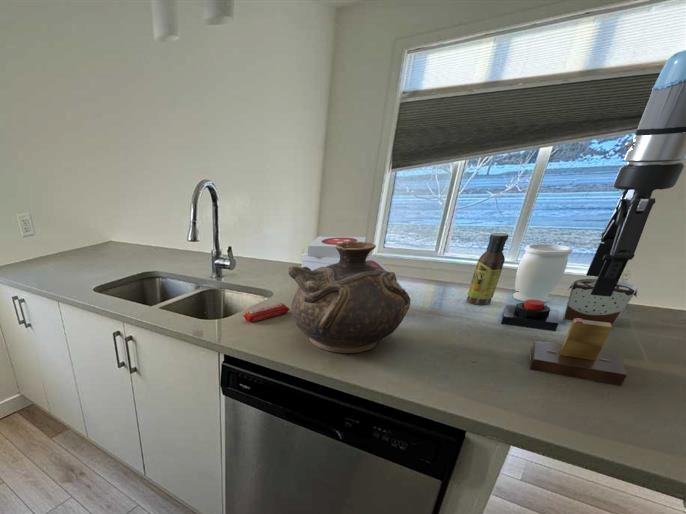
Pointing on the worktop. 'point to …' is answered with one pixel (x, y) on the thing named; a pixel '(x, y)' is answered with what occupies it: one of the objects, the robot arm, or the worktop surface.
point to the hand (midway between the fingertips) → (597, 285)
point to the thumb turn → (585, 339)
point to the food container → (597, 302)
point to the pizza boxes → (332, 253)
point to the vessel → (348, 301)
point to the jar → (540, 271)
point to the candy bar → (266, 312)
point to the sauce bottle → (488, 271)
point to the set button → (534, 304)
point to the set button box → (530, 317)
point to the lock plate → (578, 364)
